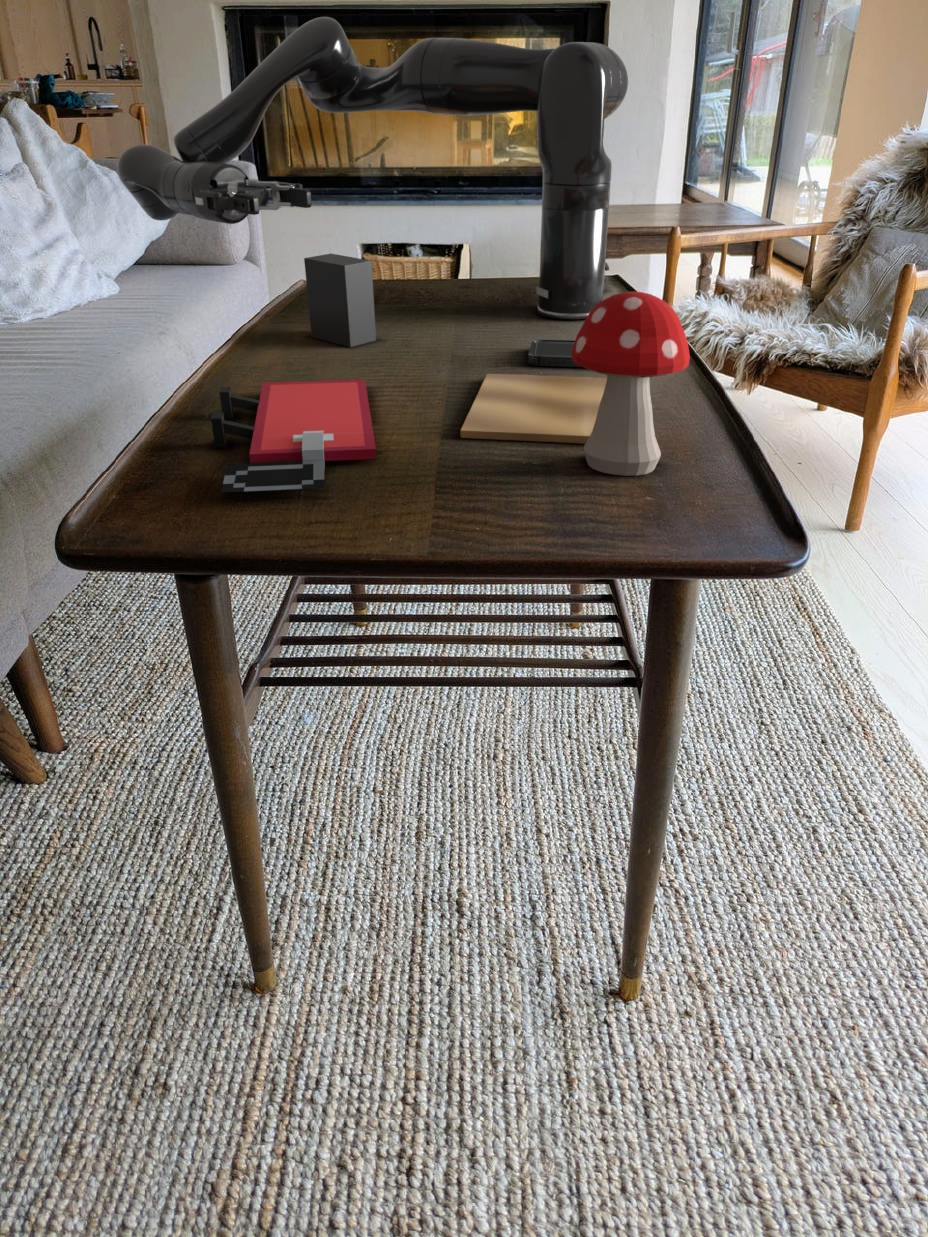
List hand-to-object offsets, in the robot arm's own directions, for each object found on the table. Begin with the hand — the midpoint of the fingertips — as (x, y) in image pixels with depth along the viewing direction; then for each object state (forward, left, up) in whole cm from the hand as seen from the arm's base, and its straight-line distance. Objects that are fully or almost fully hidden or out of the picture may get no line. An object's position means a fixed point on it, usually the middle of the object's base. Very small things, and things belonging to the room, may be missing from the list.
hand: (283, 202), depth 118 cm
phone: (+12, +41, -16) cm, 46 cm away
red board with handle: (+43, +14, -16) cm, 48 cm away
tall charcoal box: (+6, +8, -16) cm, 19 cm away
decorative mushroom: (+46, +45, -16) cm, 66 cm away
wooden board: (+31, +38, -16) cm, 52 cm away
